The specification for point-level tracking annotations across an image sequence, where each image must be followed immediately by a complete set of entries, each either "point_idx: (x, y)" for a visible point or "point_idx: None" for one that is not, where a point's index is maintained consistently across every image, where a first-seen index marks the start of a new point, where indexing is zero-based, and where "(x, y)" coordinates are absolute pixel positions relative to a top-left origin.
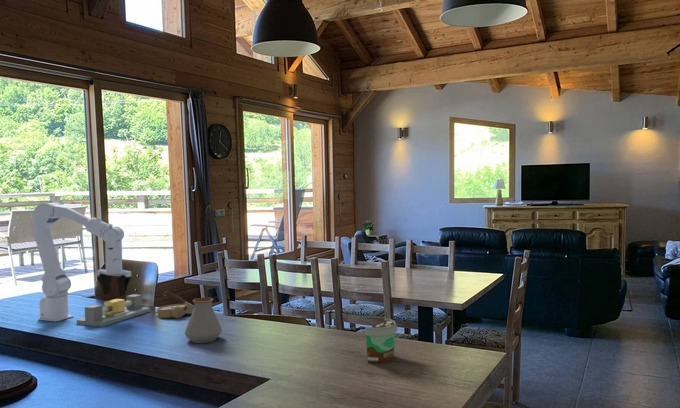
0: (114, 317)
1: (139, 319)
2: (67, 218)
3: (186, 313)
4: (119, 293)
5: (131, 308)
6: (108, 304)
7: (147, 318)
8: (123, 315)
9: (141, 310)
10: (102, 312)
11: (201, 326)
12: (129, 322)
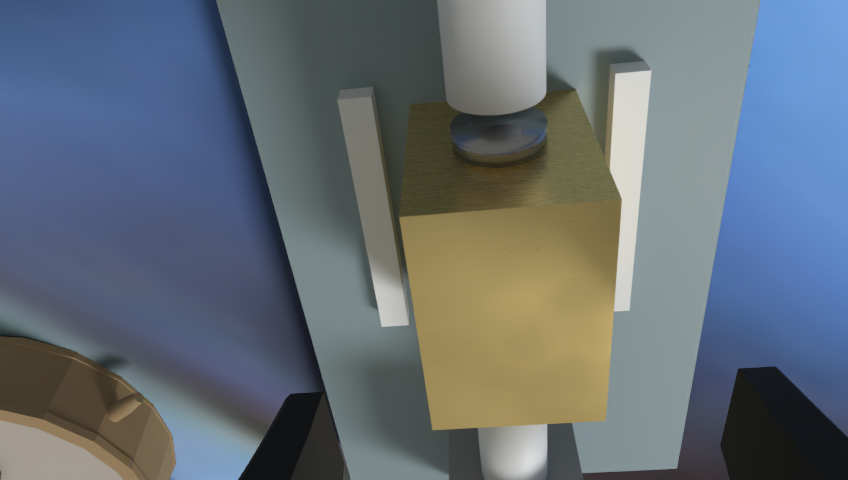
0: (296, 45)
1: (133, 223)
2: None
3: None
4: (302, 424)
5: None
6: (507, 185)
7: (102, 281)
8: (290, 177)
9: (330, 401)
10: None
11: None
12: (82, 75)
